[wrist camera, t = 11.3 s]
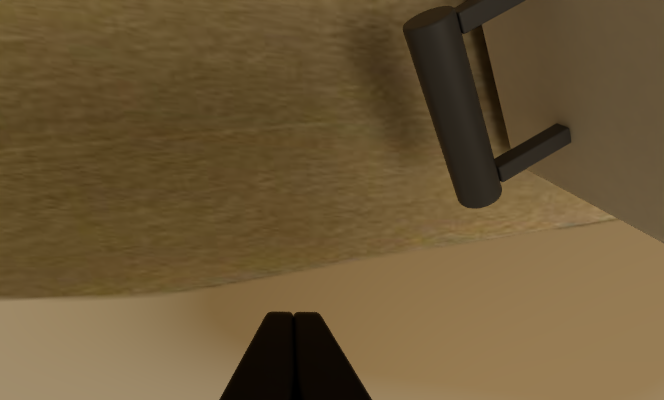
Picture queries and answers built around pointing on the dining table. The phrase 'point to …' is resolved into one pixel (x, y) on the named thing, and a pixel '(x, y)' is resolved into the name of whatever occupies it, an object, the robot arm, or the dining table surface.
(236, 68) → the dining table surface
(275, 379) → the robot arm
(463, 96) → the drawer
